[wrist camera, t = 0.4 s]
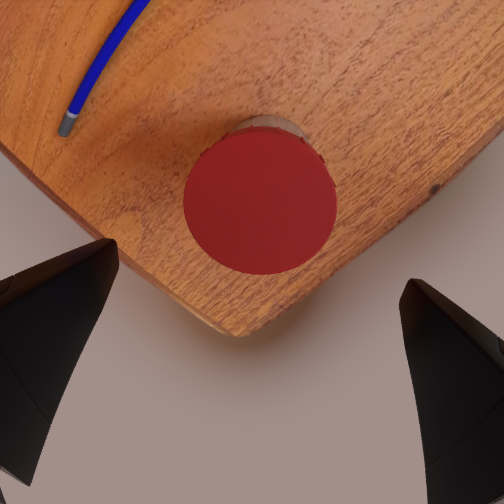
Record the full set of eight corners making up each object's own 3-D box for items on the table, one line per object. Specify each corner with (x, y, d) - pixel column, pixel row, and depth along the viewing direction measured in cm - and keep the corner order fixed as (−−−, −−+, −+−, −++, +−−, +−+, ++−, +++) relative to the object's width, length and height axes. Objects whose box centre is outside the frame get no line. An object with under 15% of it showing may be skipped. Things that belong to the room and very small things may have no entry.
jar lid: (349, 145, 13) (358, 154, 11) (308, 267, 16) (311, 289, 15) (205, 111, 13) (194, 115, 11) (185, 239, 16) (175, 258, 14)
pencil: (69, 137, 21) (62, 139, 20) (62, 131, 20) (54, 134, 19) (197, -50, 13) (194, -55, 12) (187, -55, 13) (183, -60, 12)
